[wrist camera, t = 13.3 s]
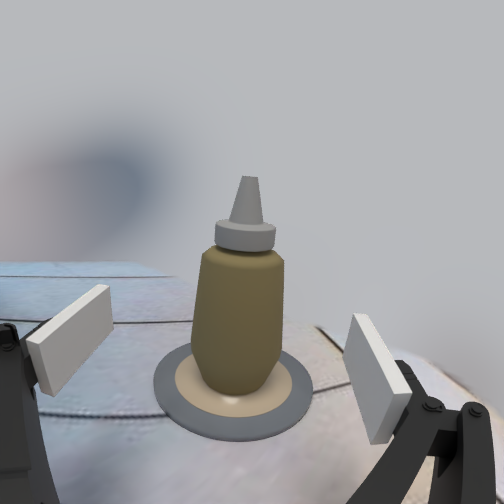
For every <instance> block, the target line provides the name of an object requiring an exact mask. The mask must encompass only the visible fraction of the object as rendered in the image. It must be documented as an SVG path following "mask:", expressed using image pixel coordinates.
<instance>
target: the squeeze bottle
mask: <svg viewBox="0 0 504 504" xmlns="http://www.w3.org/2000/svg"><path fill="white" fill-rule="evenodd" d="M275 232H276V227H275V226H273V225H272V224H268V223H265V222H263V216H262V208H261V199H260V192H259V183H258V177H250V176H242V178H241V182H240V185H239V189H238V192H237V195H236V198H235V202H234V205H233V208H232V212H231V215H230V218H229V219H226V220H220V221H218V222H216V226H215V243H216V245H215V246H212V247H211V248H209V249H208V250H207V251H205V252H204V253H203V254H202V259H201V266H200V273H199V280H198V287H197V294H196V302H195V310H194V318H193V326H192V334H191V351H192V353H193V356H194V358H195V361H196V363H197V366H198V368H199V370H200V373H201V375H202V378H203V380H204V381H205V382H206V384H207V385H208V386H209V387H210V388H212V389H214V390H216V391H218V392H220V393H224V394H229V395H245V394H248V393H251V392H254V391H257V390H258V389H259V388H260V387H261V386H262V385H263V384H264V383H265V381H266V379H267V378H268V376H269V375H270V373H271V371H272V370H273V368H274V366H275V365H276V363H277V361H278V360H279V358H280V354H281V349H282V327H283V292H284V260H283V259H282V258H281V257H280V256H279V255H278V254H277V253H276V252H275V251H274V250H271V249H272V248H273V247H274V241H275Z"/></svg>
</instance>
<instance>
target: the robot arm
mask: <svg viewBox="0 0 504 504" xmlns="http://www.w3.org/2000/svg"><path fill="white" fill-rule="evenodd" d="M113 330H114V328H113V319H112V308H111V297H110V286H107V285H101V284H98V285H96V286H95V287H94V288H92V289H91V290H89V291H88V292H87V293H85V294H84V295H83V296H81V297H80V298H79V299H77V300H76V301H75V302H73V303H72V304H71V305H69V306H68V307H67V308H65V309H64V310H63V311H61V312H60V313H59V314H57V315H56V316H55V317H54V318H50V319H48V320H45V321H43V322H42V323H41V324H39V325H38V327H35V328H34V329H33V331H30V332H29V333H28V334H26V335H25V336H24V337H23V338H21V339H20V340H19V337H18V333H17V329H16V326H15V325H13V324H10V323H3V324H0V504H60V502H59V499H58V496H57V493H56V489H55V486H54V483H53V479H52V475H51V472H50V468H49V464H48V460H47V455H46V451H45V446H44V441H43V436H42V431H41V426H40V420H39V413H38V407H37V399H36V392H35V389H34V385H35V384H36V383H37V382H38V383H39V386H40V389H41V392H43V393H45V394H48V395H50V396H53V397H55V396H56V395H57V393H58V392H59V391H60V390H61V389H62V387H63V386H64V385H65V384H66V383H67V382H68V380H69V379H70V378H71V377H72V376H73V375H74V374H75V372H76V371H77V370H78V369H79V368H80V367H81V366H82V364H83V363H84V362H85V361H86V360H87V359H88V358H89V356H90V355H91V354H92V353H93V352H94V351H95V350H96V349H97V348H98V346H99V345H100V344H101V343H102V342H103V341H104V340H105V339H106V338H107V336H108V335H109V334H110V333H111V332H112V331H113ZM342 358H343V361H344V364H345V367H346V370H347V372H348V375H349V378H350V381H351V384H352V387H353V390H354V394H355V397H356V400H357V403H358V406H359V409H360V412H361V415H362V418H363V422H364V425H365V428H366V431H367V434H368V438H369V441H370V444H371V445H375V444H387V443H388V442H389V440H390V438H391V436H392V435H393V434H394V439H393V440H392V442H391V443H390V445H389V447H388V448H387V449H386V451H385V452H384V454H383V455H382V457H381V458H380V460H379V461H378V463H377V464H376V465H375V467H374V468H373V469H372V471H371V472H370V474H369V475H368V476H367V478H366V479H365V480H364V482H363V483H362V484H361V485H360V487H359V488H358V489H357V490H356V492H355V493H354V494H353V495H352V497H351V498H350V499H349V500H348V501H347V503H346V504H401V502H402V500H403V499H404V497H405V495H406V494H407V492H408V490H409V488H410V486H411V485H412V483H413V481H414V479H415V477H416V475H417V474H418V472H419V470H420V468H421V466H422V464H423V462H424V460H425V458H426V456H435V461H434V469H433V476H432V483H431V489H430V495H429V501H428V504H496V480H495V461H494V449H493V439H492V431H491V423H490V416H489V412H488V410H487V409H486V408H485V406H483V405H482V404H480V403H477V402H467V403H465V404H464V405H463V407H462V408H461V410H460V411H456V410H448V409H446V408H445V406H444V404H443V403H442V402H441V401H440V400H438V399H436V398H434V397H430V396H428V395H427V394H426V392H425V390H424V389H423V387H422V385H421V384H420V382H419V380H417V377H416V376H415V374H414V372H413V371H412V369H411V367H410V366H409V365H408V364H406V363H405V362H404V361H403V360H394V359H393V357H392V356H391V354H390V352H389V350H388V349H387V347H386V345H385V344H384V342H383V340H382V339H381V337H380V335H379V334H378V332H377V330H376V329H375V327H374V325H373V324H372V322H371V320H370V319H369V317H368V316H367V314H355V313H354V314H353V317H352V321H351V326H350V329H349V333H348V338H347V342H346V345H345V349H344V353H343V357H342Z"/></svg>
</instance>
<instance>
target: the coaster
mask: <svg viewBox="0 0 504 504" xmlns="http://www.w3.org/2000/svg"><path fill="white" fill-rule="evenodd" d="M154 390H155V395H156V399H157V401H158V403H159V405H160V407H161V408H162V409H163V411H164V412H165V413H166V414H167V415H168V416H169V417H170V418H171V419H172V420H173V421H175V422H176V423H177V424H179V425H180V426H182V427H183V428H185V429H187V430H189V431H191V432H193V433H196V434H199V435H201V436H204V437H208V438H212V439H216V440H223V441H236V442H243V441H254V440H260V439H265V438H268V437H272V436H275V435H277V434H279V433H282V432H284V431H286V430H287V429H289V428H291V427H292V426H294V425H295V424H296V423H297V422H298V421H300V420H301V418H302V417H303V416H304V415H305V413H306V412H307V410H308V408H309V405H310V402H311V398H312V394H313V384H312V380H311V377H310V375H309V373H308V372H307V370H306V369H305V367H304V366H303V365H302V364H301V363H300V362H299V361H298V360H296V359H295V358H294V357H292V356H291V355H289V354H288V353H286V352H284V351H282V350H281V354H280V358H279V360H278V361H277V363H276V365H275V366H274V368H273V370H272V371H271V373H270V375H269V376H268V378H267V379H266V381H265V383H264V384H263V385H262V386H261V387H260V388H259V389H258V390H257V391H254V392H251V393H248V394H245V395H229V394H224V393H220V392H218V391H216V390H214V389H212V388H210V387H209V386H208V385H207V384H206V382H205V381H204V380H203V378H202V375H201V373H200V370H199V368H198V366H197V363H196V361H195V358H194V356H193V353H192V351H191V343H188V344H186V345H183V346H181V347H179V348H177V349H175V350H173V351H172V352H170V353H169V354H167V355H166V356H165V357H164V358H163V359H162V360H161V361H160V363H159V364H158V366H157V368H156V370H155V373H154Z"/></svg>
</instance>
